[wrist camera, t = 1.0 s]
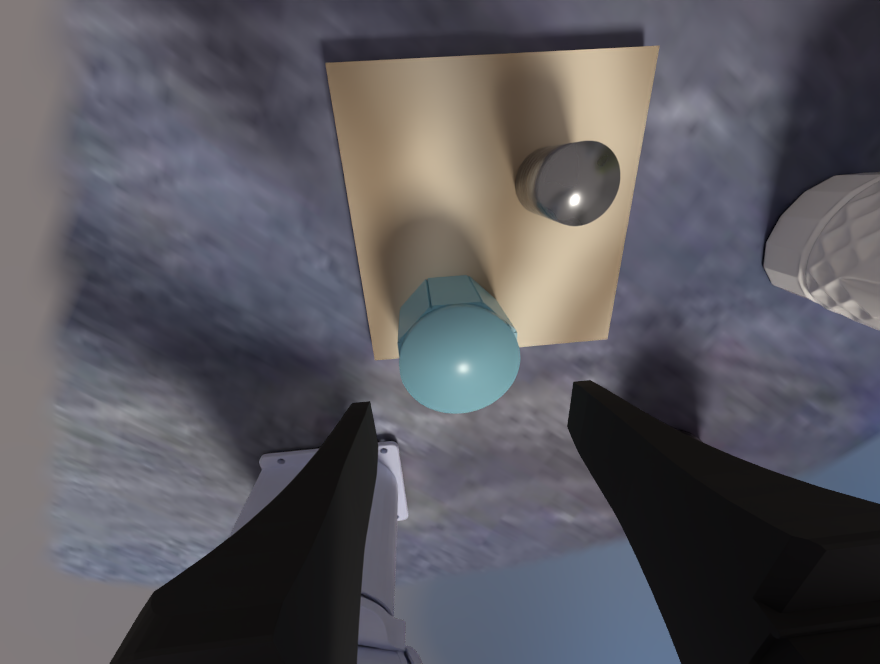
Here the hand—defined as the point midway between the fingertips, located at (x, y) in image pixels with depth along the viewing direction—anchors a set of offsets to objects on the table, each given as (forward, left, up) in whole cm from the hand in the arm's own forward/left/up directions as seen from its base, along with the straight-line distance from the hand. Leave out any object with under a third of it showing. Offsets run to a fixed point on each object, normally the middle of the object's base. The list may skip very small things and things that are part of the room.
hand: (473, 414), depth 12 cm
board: (+2, +5, -9) cm, 11 cm away
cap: (0, 0, -8) cm, 8 cm away
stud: (+5, +7, -8) cm, 12 cm away
